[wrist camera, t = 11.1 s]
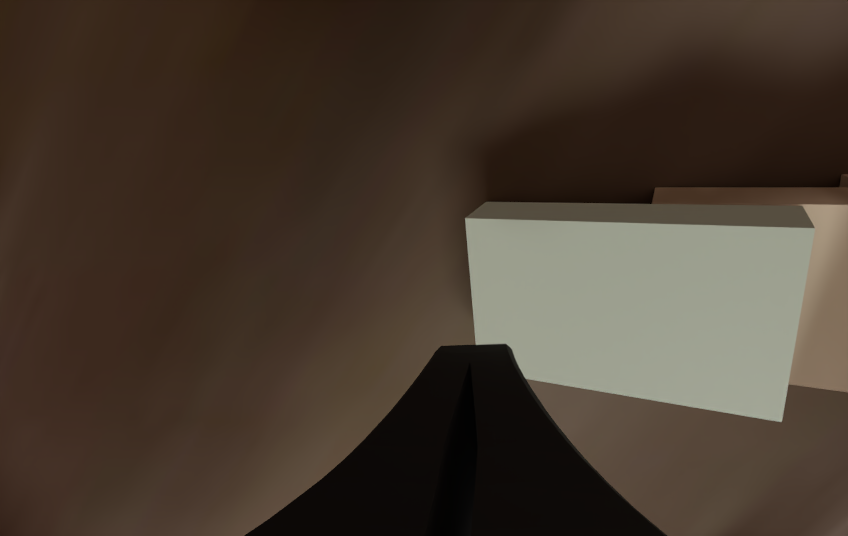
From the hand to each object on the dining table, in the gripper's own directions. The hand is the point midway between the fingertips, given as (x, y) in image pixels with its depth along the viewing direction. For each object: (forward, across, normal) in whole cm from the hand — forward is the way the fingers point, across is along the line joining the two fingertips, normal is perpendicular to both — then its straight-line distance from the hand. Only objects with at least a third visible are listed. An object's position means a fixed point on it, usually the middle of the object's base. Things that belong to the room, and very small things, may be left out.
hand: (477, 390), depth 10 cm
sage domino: (+5, 0, 0) cm, 5 cm away
